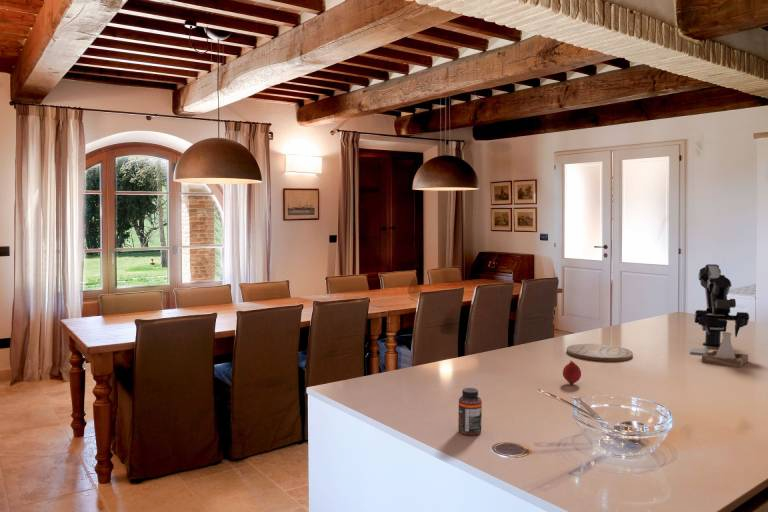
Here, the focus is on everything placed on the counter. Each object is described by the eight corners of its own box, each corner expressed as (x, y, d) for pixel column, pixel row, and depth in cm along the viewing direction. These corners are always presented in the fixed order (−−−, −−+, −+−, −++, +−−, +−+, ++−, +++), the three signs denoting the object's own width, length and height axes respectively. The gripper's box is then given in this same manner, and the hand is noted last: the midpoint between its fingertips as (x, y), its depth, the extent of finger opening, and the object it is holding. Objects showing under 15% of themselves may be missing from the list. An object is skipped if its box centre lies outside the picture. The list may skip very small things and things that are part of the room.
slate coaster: (691, 349, 259) (692, 347, 259) (716, 351, 255) (716, 350, 255) (689, 353, 252) (690, 351, 251) (715, 356, 247) (715, 354, 247)
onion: (581, 382, 210) (581, 359, 209) (580, 387, 204) (581, 363, 203) (562, 381, 211) (563, 357, 211) (561, 385, 206) (562, 361, 205)
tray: (710, 355, 248) (710, 349, 248) (747, 361, 240) (748, 354, 240) (701, 361, 238) (702, 355, 238) (740, 367, 230) (740, 360, 230)
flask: (718, 355, 244) (719, 330, 243) (738, 358, 239) (740, 332, 238) (712, 358, 239) (713, 333, 238) (733, 362, 234) (734, 335, 233)
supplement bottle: (456, 428, 166) (456, 386, 165) (478, 427, 166) (478, 386, 165) (460, 436, 160) (461, 393, 159) (483, 436, 160) (484, 392, 159)
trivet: (563, 359, 244) (563, 354, 244) (569, 346, 267) (569, 341, 267) (632, 365, 234) (632, 360, 234) (632, 351, 257) (633, 346, 257)
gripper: (696, 290, 251) (699, 322, 242) (749, 292, 245) (754, 325, 236) (693, 306, 259) (695, 338, 250) (744, 308, 253) (748, 341, 244)
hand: (723, 335), depth 245 cm, fingers open, 9 cm apart
